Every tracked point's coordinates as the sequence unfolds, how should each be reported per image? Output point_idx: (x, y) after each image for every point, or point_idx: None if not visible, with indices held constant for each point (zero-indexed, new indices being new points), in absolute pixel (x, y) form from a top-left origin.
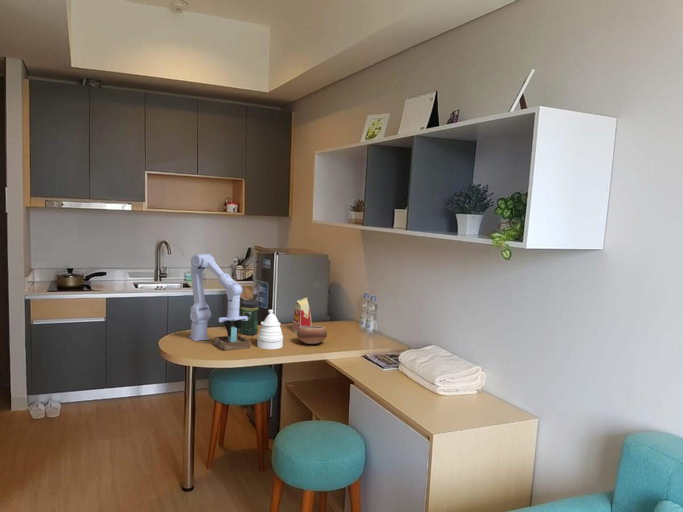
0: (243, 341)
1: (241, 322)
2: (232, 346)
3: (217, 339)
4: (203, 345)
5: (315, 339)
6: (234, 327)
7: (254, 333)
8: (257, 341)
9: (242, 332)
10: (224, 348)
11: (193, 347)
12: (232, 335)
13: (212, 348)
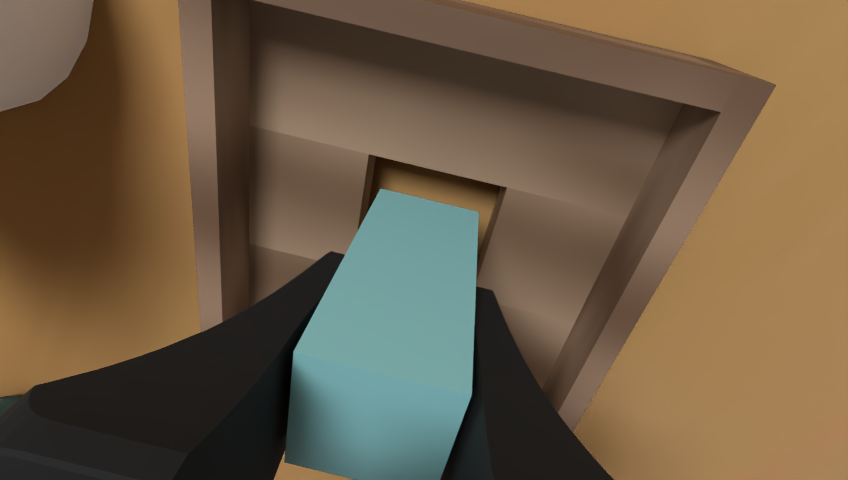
0: (322, 10)
1: (18, 436)
2: (573, 30)
3: (607, 367)
4: (684, 400)
5: None
6: (338, 409)
7: (4, 400)
8: (31, 35)
9: None
10: (720, 64)
11: (841, 402)
12: (443, 264)
13: (718, 260)
